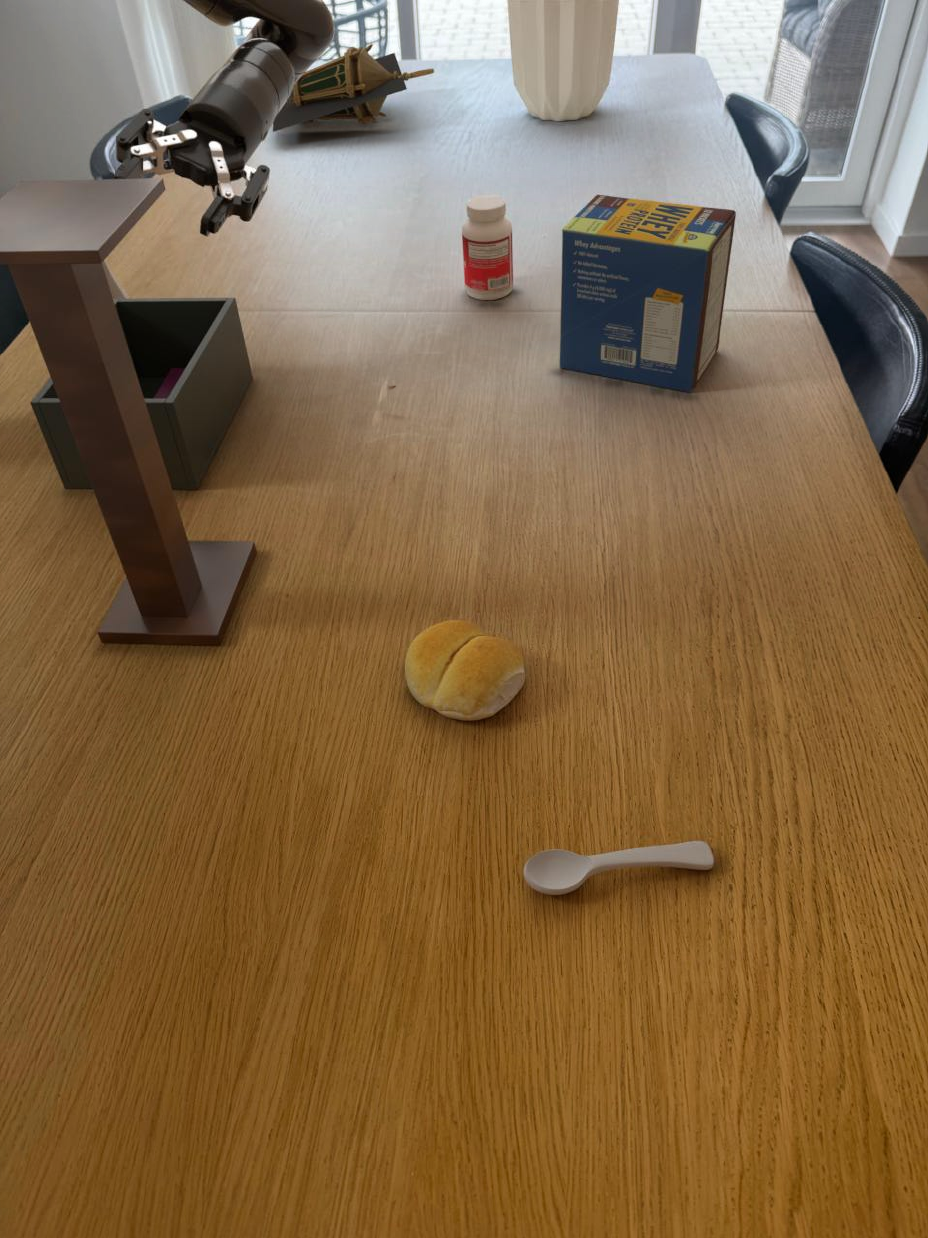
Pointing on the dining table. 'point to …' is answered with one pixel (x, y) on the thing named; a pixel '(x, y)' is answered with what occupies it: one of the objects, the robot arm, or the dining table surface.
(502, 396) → the dining table surface
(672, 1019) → the dining table surface
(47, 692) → the dining table surface
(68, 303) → the shelf stand
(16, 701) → the dining table surface
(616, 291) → the protein box
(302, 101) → the lantern
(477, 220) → the pill bottle
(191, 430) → the trash bin
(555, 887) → the spoon
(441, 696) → the bread roll
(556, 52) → the vase
